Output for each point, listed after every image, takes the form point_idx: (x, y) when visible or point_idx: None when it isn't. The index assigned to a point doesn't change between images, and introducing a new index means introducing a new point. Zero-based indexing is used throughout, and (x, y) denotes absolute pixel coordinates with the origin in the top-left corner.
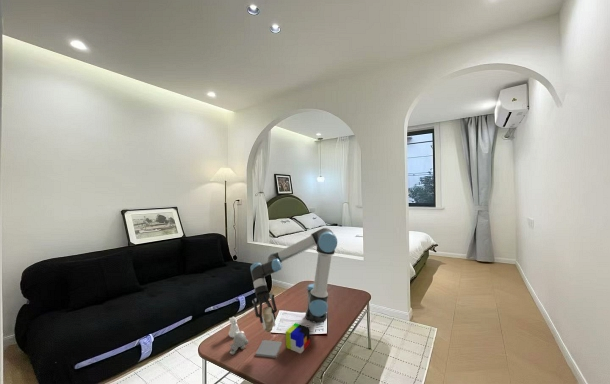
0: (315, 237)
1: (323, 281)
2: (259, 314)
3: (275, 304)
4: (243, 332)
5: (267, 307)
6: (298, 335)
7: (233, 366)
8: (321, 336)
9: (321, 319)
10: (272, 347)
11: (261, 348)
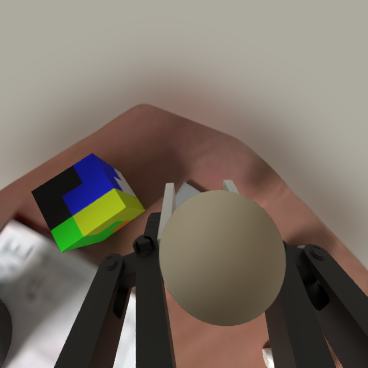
0: None
1: None
2: (290, 260)
3: (64, 347)
4: (270, 358)
5: (206, 299)
6: (94, 162)
7: (295, 198)
8: (33, 214)
9: None
10: None
11: None
